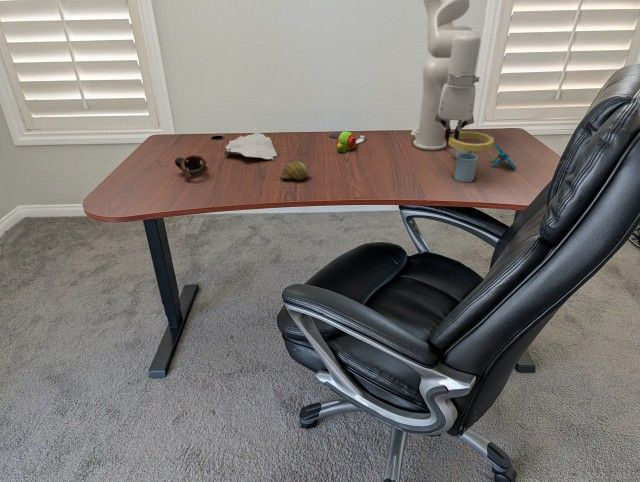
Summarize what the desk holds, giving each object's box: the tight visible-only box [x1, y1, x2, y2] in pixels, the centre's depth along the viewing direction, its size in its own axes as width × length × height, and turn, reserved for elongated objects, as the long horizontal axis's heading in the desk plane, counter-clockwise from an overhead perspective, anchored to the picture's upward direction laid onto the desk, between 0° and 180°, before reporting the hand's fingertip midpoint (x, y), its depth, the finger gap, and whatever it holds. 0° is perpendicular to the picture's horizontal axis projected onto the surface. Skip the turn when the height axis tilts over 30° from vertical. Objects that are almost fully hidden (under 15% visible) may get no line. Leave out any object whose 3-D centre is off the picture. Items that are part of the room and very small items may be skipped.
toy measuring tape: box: [336, 130, 367, 153], centre depth 165 cm, size 6×20×7 cm, turn 145°
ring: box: [447, 130, 495, 153], centre depth 133 cm, size 13×13×2 cm
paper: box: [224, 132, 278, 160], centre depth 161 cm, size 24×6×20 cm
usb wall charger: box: [449, 147, 473, 159], centre depth 154 cm, size 4×7×4 cm, turn 47°
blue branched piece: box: [491, 144, 516, 169], centre depth 146 cm, size 11×6×10 cm
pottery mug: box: [174, 154, 209, 182], centre depth 143 cm, size 12×9×8 cm
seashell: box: [280, 160, 309, 181], centre depth 140 cm, size 10×7×8 cm
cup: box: [453, 153, 479, 183], centre depth 138 cm, size 6×6×8 cm
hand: (451, 141), depth 134 cm, fingers closed on ring, 1 cm apart
